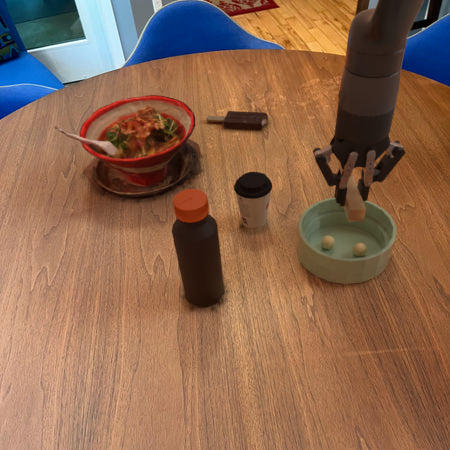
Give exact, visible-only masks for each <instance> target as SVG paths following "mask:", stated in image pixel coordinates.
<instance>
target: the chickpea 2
mask: <svg viewBox="0 0 450 450" xmlns="http://www.w3.org/2000/svg"><path fill="white" fill-rule="evenodd" d="M366 252H367V247H366V245H365V244H363V243H357V244H355V245H354V247H353V253H354V254H355V255H356V256H358V257H361V256H364V255H365V254H366Z"/></svg>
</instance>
